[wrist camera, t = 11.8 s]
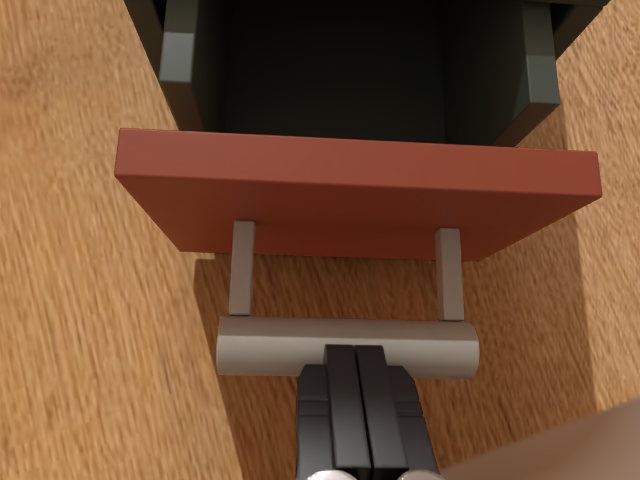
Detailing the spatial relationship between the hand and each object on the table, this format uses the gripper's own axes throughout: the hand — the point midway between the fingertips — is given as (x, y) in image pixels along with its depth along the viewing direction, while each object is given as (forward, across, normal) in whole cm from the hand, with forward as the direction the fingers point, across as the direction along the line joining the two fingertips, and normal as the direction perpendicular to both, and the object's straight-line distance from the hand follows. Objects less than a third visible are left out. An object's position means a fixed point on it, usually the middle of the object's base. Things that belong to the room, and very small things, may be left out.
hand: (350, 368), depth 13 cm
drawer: (+10, 0, +3) cm, 10 cm away
